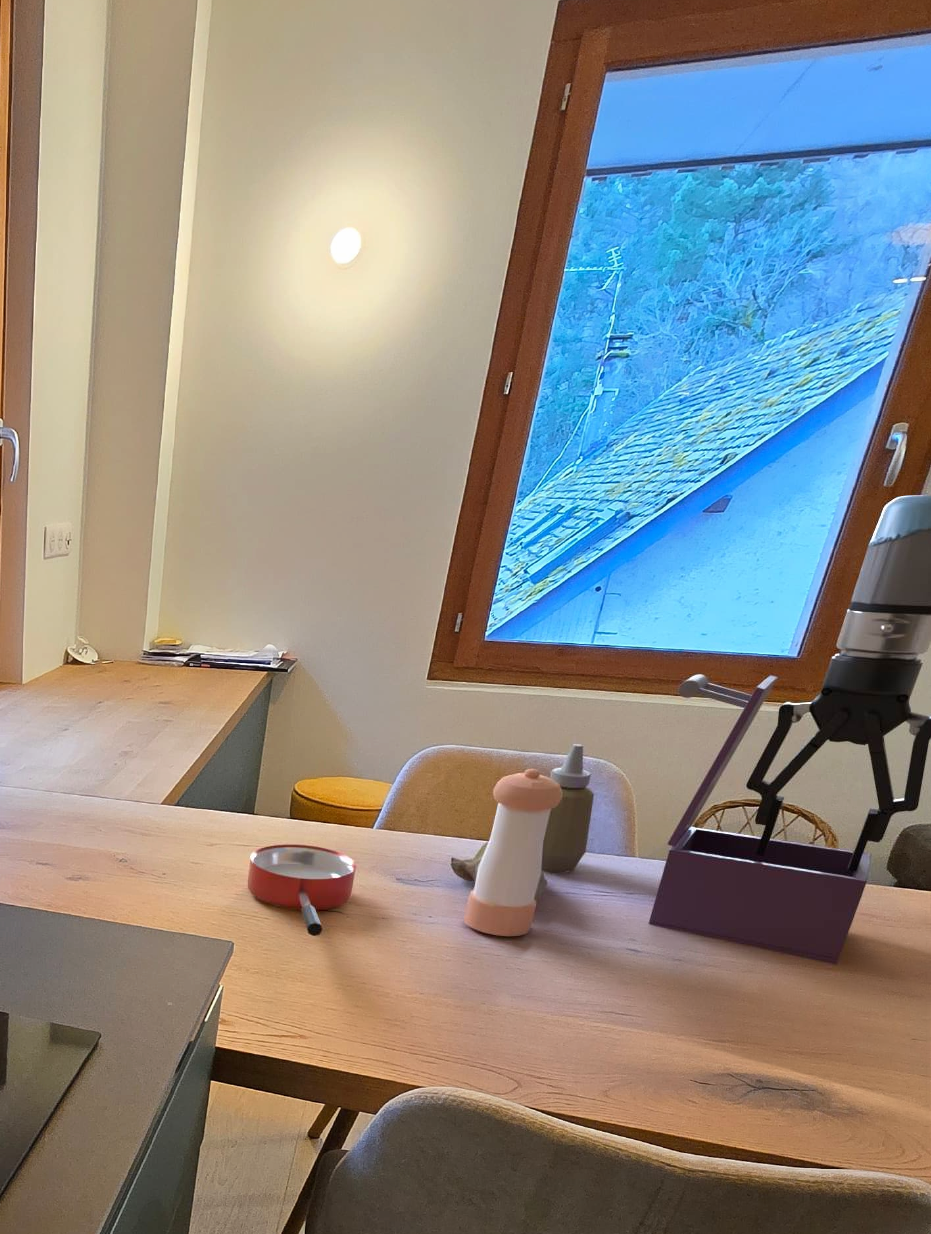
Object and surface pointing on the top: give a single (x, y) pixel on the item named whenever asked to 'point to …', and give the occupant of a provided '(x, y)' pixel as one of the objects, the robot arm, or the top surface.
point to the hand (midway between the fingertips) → (806, 860)
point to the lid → (751, 708)
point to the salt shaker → (513, 855)
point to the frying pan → (301, 879)
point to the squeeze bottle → (568, 816)
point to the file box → (761, 893)
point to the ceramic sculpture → (470, 867)
